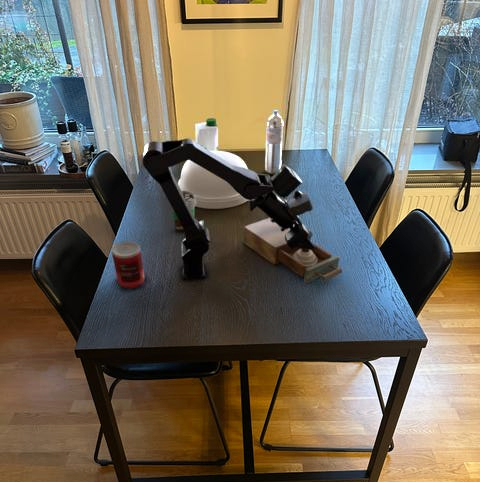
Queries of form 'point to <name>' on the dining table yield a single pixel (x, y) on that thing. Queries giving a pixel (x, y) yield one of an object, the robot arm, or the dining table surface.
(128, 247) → the canned food
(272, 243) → the cabinet
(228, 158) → the dome cover
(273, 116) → the water bottle
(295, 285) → the dining table surface
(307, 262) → the cream and brown stand
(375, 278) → the dining table surface
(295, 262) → the drawer
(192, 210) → the food container
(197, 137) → the milk carton
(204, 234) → the robot arm
